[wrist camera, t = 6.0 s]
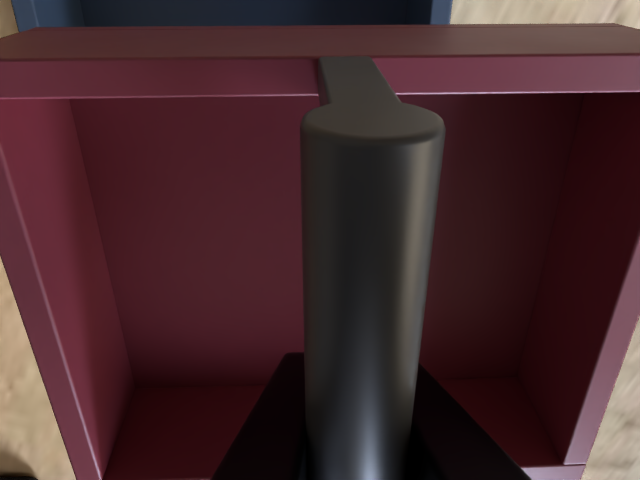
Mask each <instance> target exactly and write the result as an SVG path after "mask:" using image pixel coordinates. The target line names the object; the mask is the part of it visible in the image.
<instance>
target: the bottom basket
mask: <svg viewBox="0 0 640 480" xmlns="http://www.w3.org/2000/svg"><path fill="white" fill-rule="evenodd" d="M452 1H453V0H11V3H12V7H13V11H14V15H15V19H16V23H17V27H18V31H19V32H22V31H26V30H29V29H32V28H35V27H139V26H293V25H446V24H450V18H451V9H452Z"/></svg>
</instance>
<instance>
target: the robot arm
mask: <svg viewBox="0 0 640 480" xmlns="http://www.w3.org/2000/svg"><path fill="white" fill-rule="evenodd" d="M0 480H37V479H36V478H33V477H5V478H0ZM210 480H308V471H307V431H306V417H305V366H304V352H289V353H286V354H285V355H284V356H283V358H282V360H281V361H280V363H279V365H278V366H277V368H276V370H275V372H274V373H273V375H272V377H271V378H270V380H269V382H268V383H267V385H266V387H265V388H264V390H263V392H262V393H261V395H260V397H259V398H258V400H257V402H256V404H255V405H254V407H253V409H252V410H251V412H250V414H249V415H248V417H247V419H246V420H245V422H244V424H243V425H242V427H241V429H240V430H239V432H238V434H237V436H236V437H235V439H234V441H233V442H232V444H231V446H230V447H229V449H228V451H227V452H226V454H225V456H224V457H223V459H222V461H221V463H220V464H219V466H218V468H217V469H216V471H215V473H214V474H213V476H212V478H211V479H210ZM405 480H532V479H531V478H530V477H529V476H528V475H527V474H526V473H525V472H524V470H523V469H522V468H521V467H520V466H519V465H518V464H517V463H516V462H515V461H514V460H513V459H512V458H511V457H510V456H509V455H508V454H507V453H506V452H505V451H504V450H503V449H502V448H501V447H500V446H499V445H498V444H497V443H496V441H495V440H494V439H493V438H492V437H491V436H490V435H489V434H488V433H487V432H486V431H485V430H484V429H483V428H482V427H481V426H480V425H479V424H478V423H477V422H476V421H475V420H474V419H473V418H472V417H471V416H470V415H469V413H468V412H467V411H466V410H465V409H464V408H463V407H462V406H461V405H460V404H459V403H458V402H457V401H456V400H455V399H454V398H453V397H452V396H451V395H450V394H449V393H448V392H447V391H446V390H445V389H444V388H443V387H442V385H441V384H440V383H439V382H438V381H437V380H436V379H435V378H434V377H433V376H432V375H431V374H430V373H429V372H428V371H427V370H426V369H425V368H424V367H423V366H422V365H421V364H420V363H419V364H418V372H417V381H416V389H415V398H414V407H413V415H412V424H411V432H410V441H409V449H408V458H407V467H406V475H405Z"/></svg>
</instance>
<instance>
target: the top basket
mask: <svg viewBox="0 0 640 480" xmlns="http://www.w3.org/2000/svg"><path fill="white" fill-rule="evenodd" d="M0 256H1V259H2V262H3V265H4V268H5V271H6V274H7V277H8V280H9V283H10V285H11V288H12V291H13V294H14V297H15V300H16V303H17V306H18V309H19V312H20V315H21V318H22V321H23V324H24V327H25V330H26V333H27V335H28V338H29V341H30V344H31V347H32V350H33V353H34V356H35V359H36V362H37V365H38V368H39V371H40V374H41V377H42V380H43V383H44V386H45V388H46V391H47V394H48V397H49V400H50V403H51V406H52V409H53V412H54V415H55V418H56V421H57V424H58V427H59V430H60V433H61V436H62V439H63V441H64V444H65V447H66V450H67V453H68V456H69V459H70V462H71V465H72V468H73V471H74V474H75V477H76V480H210V479H211V478H212V476H213V474H214V473H215V471H216V469H217V468H218V466H219V464H220V463H221V461H222V459H223V457H224V456H225V454H226V452H227V451H228V449H229V447H230V446H231V444H232V442H233V441H234V439H235V437H236V436H237V434H238V432H239V430H240V429H241V427H242V425H243V424H244V422H245V420H246V419H247V417H248V415H249V414H250V412H251V410H252V409H253V407H254V405H255V404H256V402H257V400H258V398H259V397H260V395H261V393H262V392H263V390H264V388H265V387H266V385H267V383H268V382H269V380H270V378H271V377H272V375H273V373H274V372H275V370H276V368H277V366H278V365H279V363H280V361H281V360H282V358H283V356H284V355H285V354H286V353H289V352H304V366H305V417H306V431H307V471H308V480H405V475H406V467H407V458H408V449H409V441H410V432H411V424H412V415H413V407H414V398H415V389H416V381H417V372H418V364H419V363H420V364H421V365H422V366H423V367H424V368H425V369H426V370H427V371H428V372H429V373H430V374H431V375H432V376H433V377H434V378H435V379H436V380H437V381H438V382H439V383H440V384H441V385H442V387H443V388H444V389H445V390H446V391H447V392H448V393H449V394H450V395H451V396H452V397H453V398H454V399H455V400H456V401H457V402H458V403H459V404H460V405H461V406H462V407H463V408H464V409H465V410H466V411H467V412H468V413H469V415H470V416H471V417H472V418H473V419H474V420H475V421H476V422H477V423H478V424H479V425H480V426H481V427H482V428H483V429H484V430H485V431H486V432H487V433H488V434H489V435H490V436H491V437H492V438H493V439H494V440H495V441H496V443H497V444H498V445H499V446H500V447H501V448H502V449H503V450H504V451H505V452H506V453H507V454H508V455H509V456H510V457H511V458H512V459H513V460H514V461H515V462H516V463H517V464H518V465H519V466H520V467H521V468H522V469H523V470H524V472H525V473H526V474H527V475H528V476H529V477H530V478H531V479H532V480H580V479H581V478H582V475H583V472H584V469H585V466H586V463H587V461H588V458H589V455H590V452H591V449H592V447H593V444H594V441H595V438H596V436H597V433H598V430H599V427H600V424H601V422H602V419H603V416H604V413H605V411H606V408H607V405H608V402H609V399H610V397H611V394H612V391H613V388H614V386H615V383H616V380H617V377H618V375H619V372H620V369H621V366H622V363H623V361H624V358H625V355H626V352H627V350H628V347H629V344H630V341H631V338H632V336H633V333H634V330H635V327H636V325H637V322H638V319H639V316H640V29H636V28H632V27H626V26H623V25H619V24H615V23H600V24H446V25H293V26H139V27H35V28H32V29H29V30H26V31H22V32H19V33H16V34H13V35H10V36H6V37H3V38H0Z"/></svg>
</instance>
